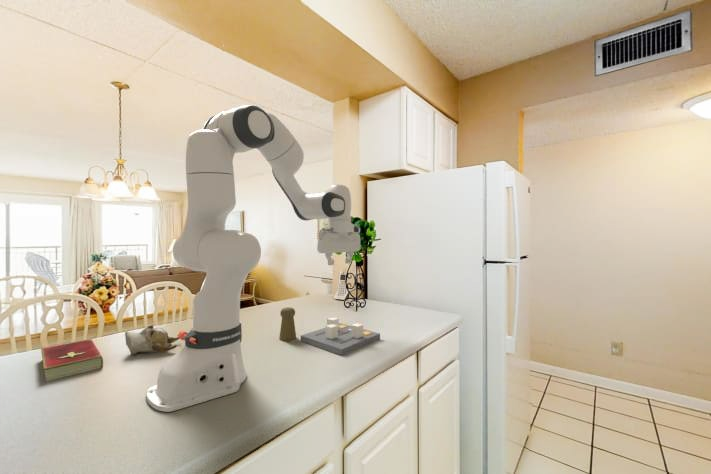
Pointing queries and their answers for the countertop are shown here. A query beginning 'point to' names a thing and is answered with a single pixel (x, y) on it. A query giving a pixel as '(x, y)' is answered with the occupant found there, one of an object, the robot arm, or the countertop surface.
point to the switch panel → (340, 340)
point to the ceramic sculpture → (149, 340)
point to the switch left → (332, 321)
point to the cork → (287, 324)
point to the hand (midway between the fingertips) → (339, 264)
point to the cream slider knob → (357, 330)
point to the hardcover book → (70, 359)
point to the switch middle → (331, 331)
